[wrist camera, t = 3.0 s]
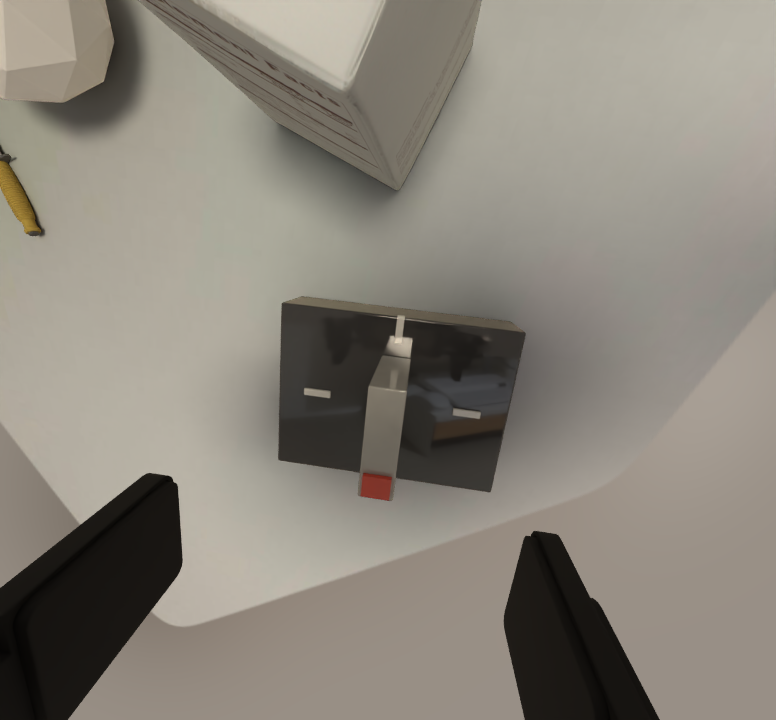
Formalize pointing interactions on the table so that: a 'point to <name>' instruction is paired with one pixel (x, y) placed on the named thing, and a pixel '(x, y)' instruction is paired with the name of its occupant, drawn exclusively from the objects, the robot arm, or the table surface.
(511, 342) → the panel
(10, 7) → the ball
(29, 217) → the dagger
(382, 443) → the box with red button
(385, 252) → the table surface
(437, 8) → the white packaging box
